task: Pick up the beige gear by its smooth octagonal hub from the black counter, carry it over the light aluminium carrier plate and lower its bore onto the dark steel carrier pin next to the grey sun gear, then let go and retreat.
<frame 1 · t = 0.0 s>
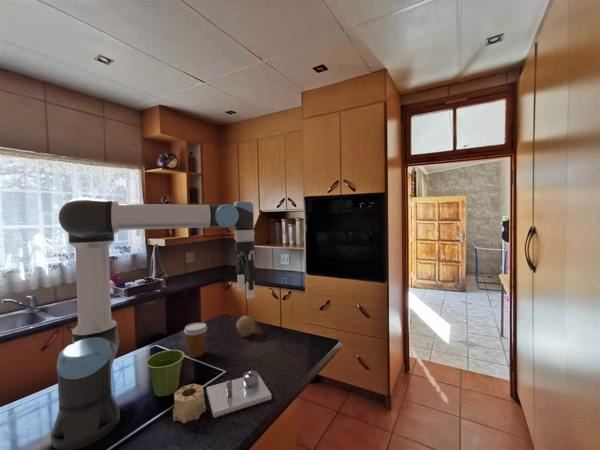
hand: (245, 294, 111), 28 cm above the counter, fingers open, 13 cm apart
carrier: (238, 395, 91), on the counter
natural sponge: (245, 336, 138), on the counter
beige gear: (189, 411, 84), on the counter
plant pot: (166, 391, 95), on the counter
disposable coffee cup: (196, 354, 120), on the counter
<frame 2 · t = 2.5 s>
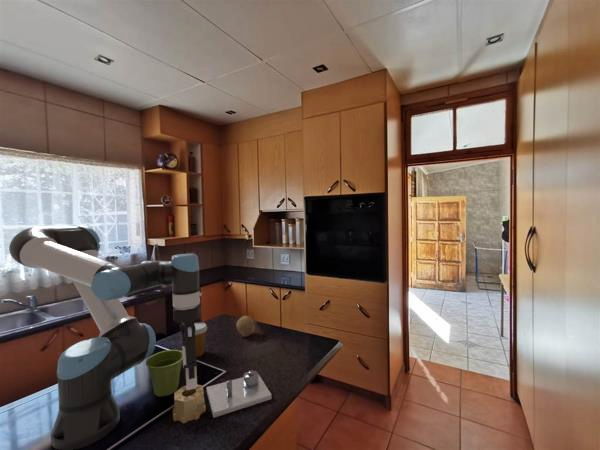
hand: (189, 376, 83), 11 cm above the counter, fingers open, 13 cm apart
nothing on the counter moved.
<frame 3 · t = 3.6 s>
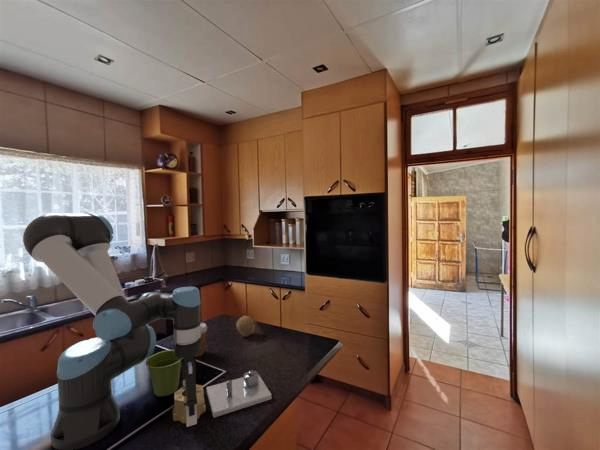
hand: (189, 411, 84), 0 cm above the counter, fingers open, 12 cm apart
nothing on the counter moved.
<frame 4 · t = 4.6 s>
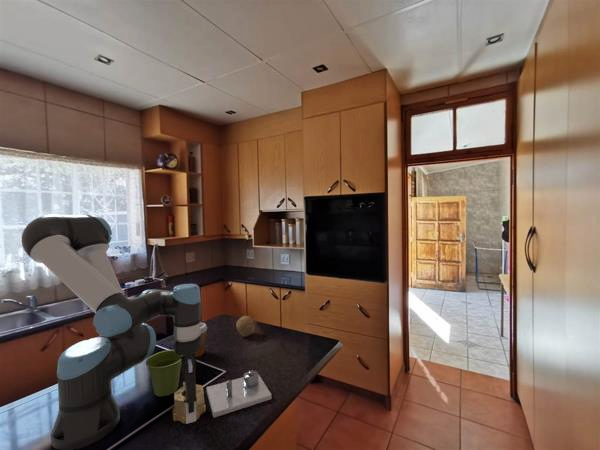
hand: (189, 411, 84), 0 cm above the counter, fingers closed on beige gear, 9 cm apart
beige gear: (189, 411, 84), on the counter, touching gripper
everything else where it was.
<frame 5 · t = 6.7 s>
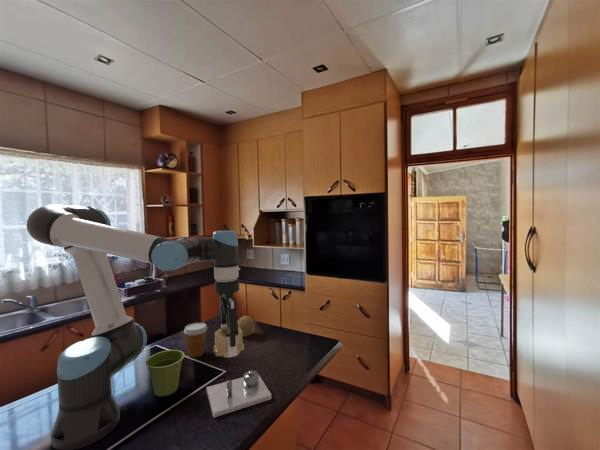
hand: (229, 349, 89), 16 cm above the counter, fingers closed on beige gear, 9 cm apart
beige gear: (229, 350, 89), point 16 cm above the counter, touching gripper
everything else where it was.
when the fingers open (3 cm above the counter, at t = 8.7 s): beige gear drops 2 cm, resting on carrier.
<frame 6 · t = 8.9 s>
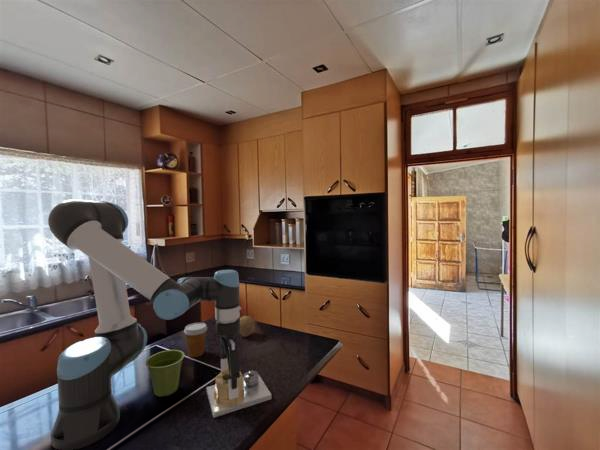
hand: (229, 387, 89), 4 cm above the counter, fingers open, 11 cm apart
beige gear: (229, 395, 89), point 1 cm above the counter, touching carrier
everything else where it was.
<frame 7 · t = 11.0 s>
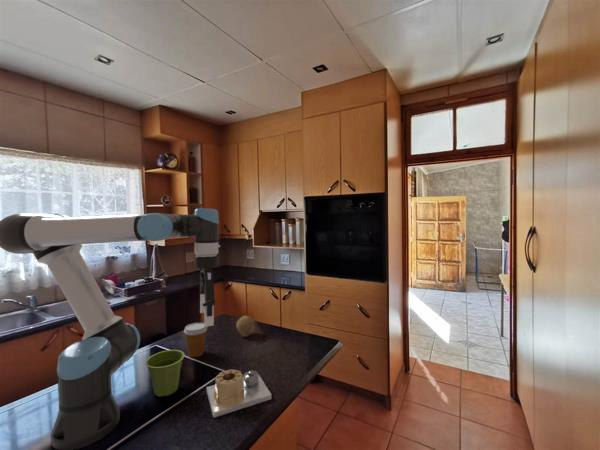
hand: (206, 318, 93), 25 cm above the counter, fingers open, 13 cm apart
nothing on the counter moved.
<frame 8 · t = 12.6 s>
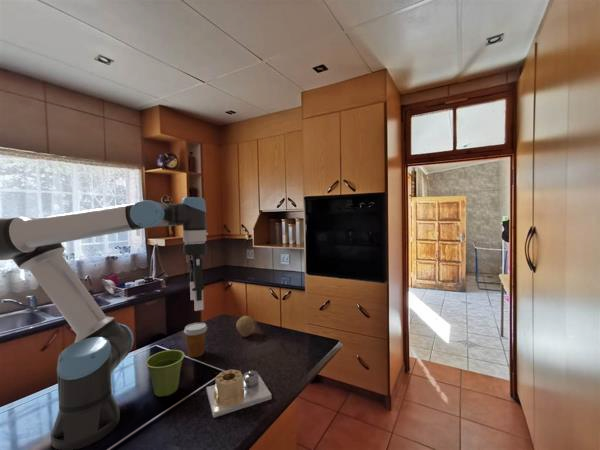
hand: (196, 304, 96), 29 cm above the counter, fingers open, 13 cm apart
nothing on the counter moved.
at the end: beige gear 0.0 cm from the target spot on the carrier, point 1.5 cm above the carrier's base; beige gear tilted 0°; the gripper is holding nothing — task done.
